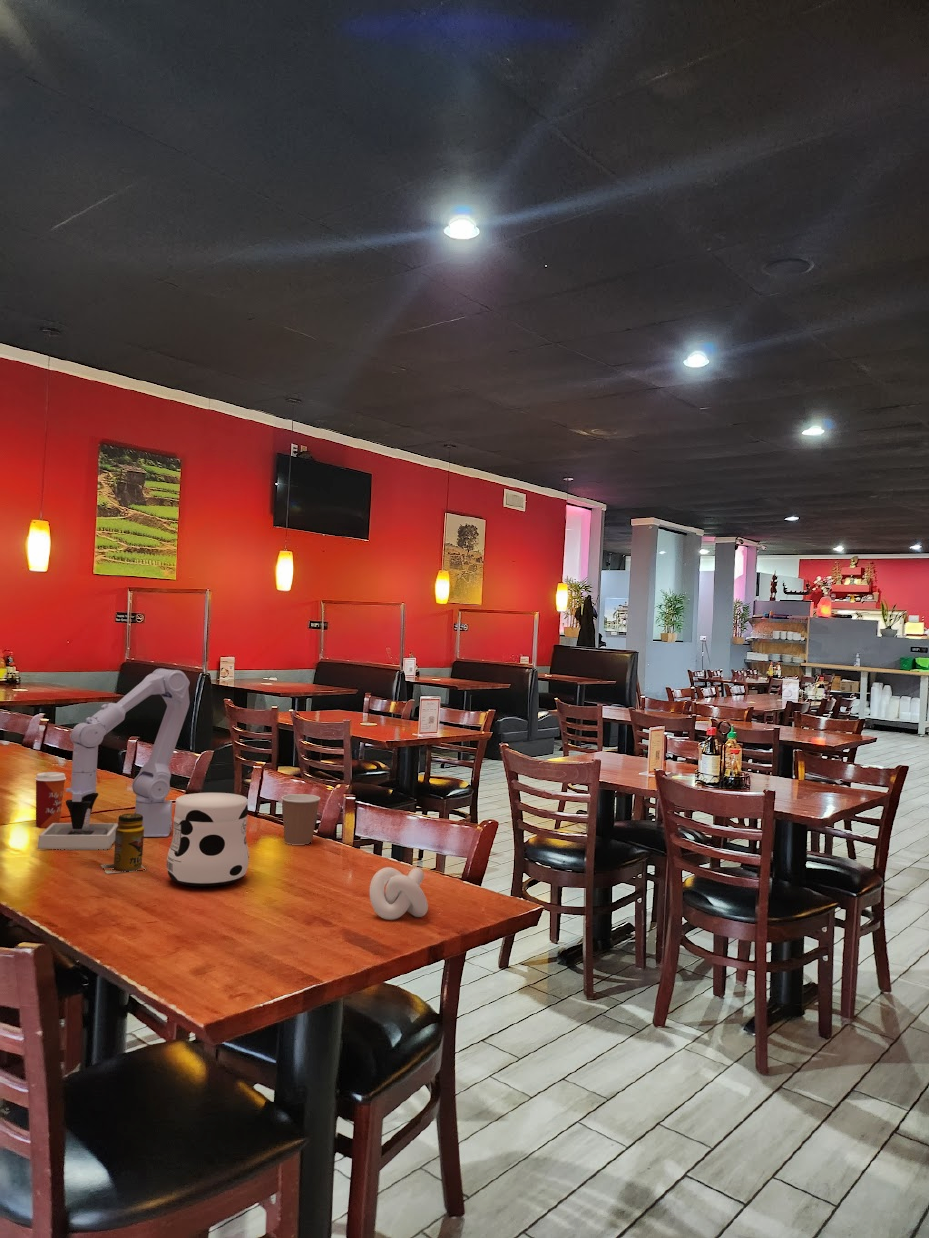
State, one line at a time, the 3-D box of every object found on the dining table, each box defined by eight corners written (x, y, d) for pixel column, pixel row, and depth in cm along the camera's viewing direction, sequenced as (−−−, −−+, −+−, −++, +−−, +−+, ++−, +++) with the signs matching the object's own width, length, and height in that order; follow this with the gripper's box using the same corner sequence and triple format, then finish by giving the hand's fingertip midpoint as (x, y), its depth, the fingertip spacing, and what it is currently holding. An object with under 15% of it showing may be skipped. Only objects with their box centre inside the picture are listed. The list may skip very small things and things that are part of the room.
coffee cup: (322, 839, 230) (324, 795, 231) (311, 848, 220) (314, 802, 221) (285, 837, 231) (287, 792, 232) (273, 845, 221) (275, 799, 222)
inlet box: (118, 836, 222) (119, 823, 222) (108, 849, 209) (109, 835, 209) (51, 836, 219) (52, 822, 219) (37, 850, 205) (38, 835, 205)
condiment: (146, 870, 193) (149, 817, 193) (106, 874, 188) (110, 819, 188) (139, 862, 199) (142, 811, 199) (100, 866, 194) (103, 813, 195)
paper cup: (54, 829, 226) (57, 776, 227) (25, 827, 227) (29, 775, 227) (68, 823, 234) (72, 772, 235) (41, 821, 234) (44, 770, 235)
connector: (90, 839, 216) (92, 807, 216) (86, 843, 212) (88, 810, 212) (73, 839, 215) (75, 807, 215) (69, 842, 211) (71, 810, 212)
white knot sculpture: (373, 926, 163) (376, 879, 163) (363, 907, 174) (365, 863, 175) (430, 924, 166) (433, 877, 166) (416, 905, 178) (419, 861, 178)
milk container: (262, 876, 193) (266, 796, 194) (220, 896, 176) (225, 809, 177) (195, 866, 198) (199, 789, 198) (148, 886, 181) (153, 801, 182)
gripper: (73, 766, 220) (70, 819, 220) (60, 775, 206) (56, 831, 206) (102, 766, 222) (99, 819, 222) (91, 775, 208) (87, 831, 207)
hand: (80, 825), depth 214 cm, fingers open, 7 cm apart
